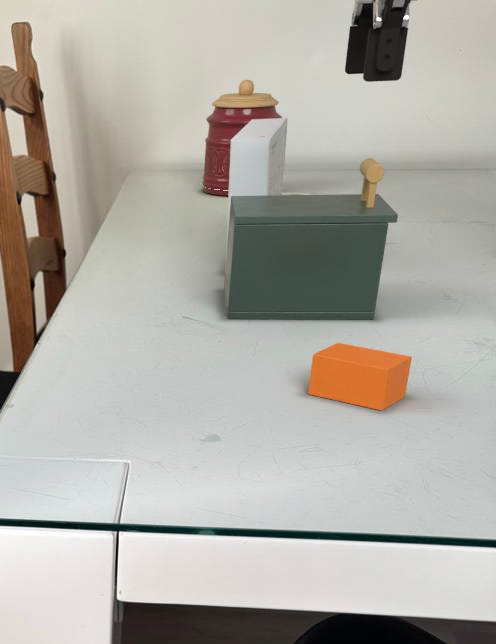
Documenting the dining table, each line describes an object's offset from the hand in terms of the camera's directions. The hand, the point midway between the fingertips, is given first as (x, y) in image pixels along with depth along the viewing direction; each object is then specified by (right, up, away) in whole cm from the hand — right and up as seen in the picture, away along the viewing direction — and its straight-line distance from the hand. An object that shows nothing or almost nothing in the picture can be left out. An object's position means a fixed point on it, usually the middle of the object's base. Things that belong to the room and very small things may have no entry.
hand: (371, 76), depth 93 cm
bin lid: (-1, -6, +16) cm, 17 cm away
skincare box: (-1, -1, +42) cm, 42 cm away
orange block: (-3, -31, -5) cm, 31 cm away
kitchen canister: (+7, +29, +88) cm, 92 cm away
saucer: (+11, +16, +68) cm, 71 cm away
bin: (-1, -14, +21) cm, 26 cm away
